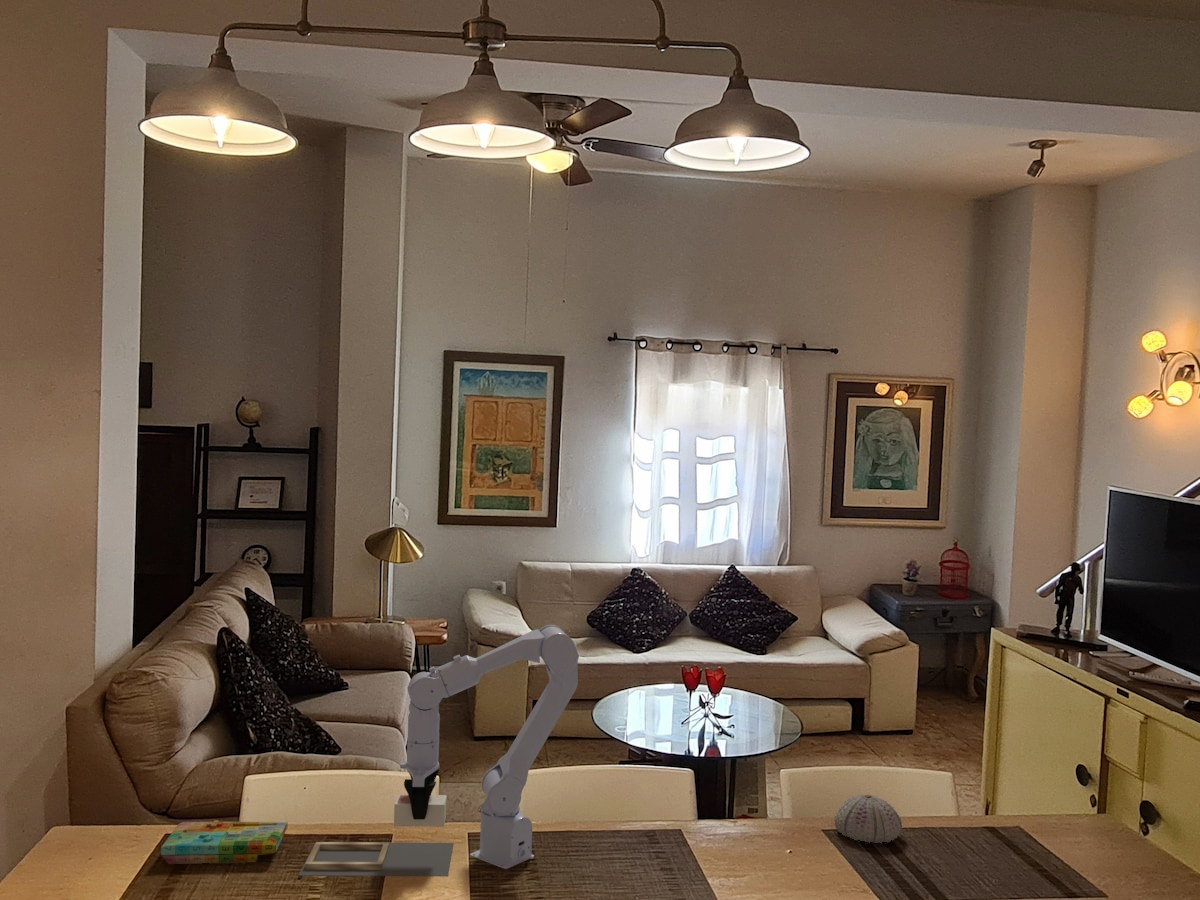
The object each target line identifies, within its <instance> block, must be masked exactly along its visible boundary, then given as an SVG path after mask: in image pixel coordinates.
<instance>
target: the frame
mask: <svg viewBox="0 0 1200 900" xmlns="http://www.w3.org/2000/svg"><path fill="white" fill-rule="evenodd" d="M315 843H316V844H315ZM315 843H314V844H315V846H314V845H313V846H314V848H313V847H312V848H313V850H312V849H311V850H312V852H311V851H310V852H311V853H309V854H310V855H308V856H309V857H308V856H307V858H308V859H307V858H306V860H307V861H305V862H306V863H305V862H304V864H305V870H382V868H383V865H384V862H385V859H386V856H387V853H388V850H389V842H387V841H386V842H384V841H383V842H377V841H375V842H372V841H371V842H367V841H356V842H355V841H315ZM321 849H333V850H381V852H380V855H379V858H378V861H377V862H315V860H316V858H317V856H318V854H319V852H320V850H321Z"/></svg>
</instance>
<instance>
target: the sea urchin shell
mask: <svg viewBox="0 0 1200 900" xmlns="http://www.w3.org/2000/svg"><path fill="white" fill-rule="evenodd" d="M834 826H835V829H836V830H837V831H838V833H842V834H841V835H842V836H845V837H846V836H847V837H850V838H849V839H851V838H852V839H854V840H853V841H855V840H860V841H865V842H869V844H871V843H870V842H874V843H881V844H883V843H882V842H887V843H891V842H893V841H894V840H895V839H898V836H899V835H901V832H902V828H903V821H902V818H901V817H900V815H899V814H898V811H896V810H895V807H893V806H892V805H891V803H889V802H888V801H887V800H885V799H883V798H881V797H878V796H876V795H873V794H858V795H857V794H856V795H854V796H851V797H850V798H848V799H847V800H846V801H844V803H843V804H841V806H840V807H839V808H838V811H837V812H835V816H834ZM847 837H846V838H847ZM852 839H851V840H852ZM891 840H892V841H891ZM860 841H859V842H860Z"/></svg>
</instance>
